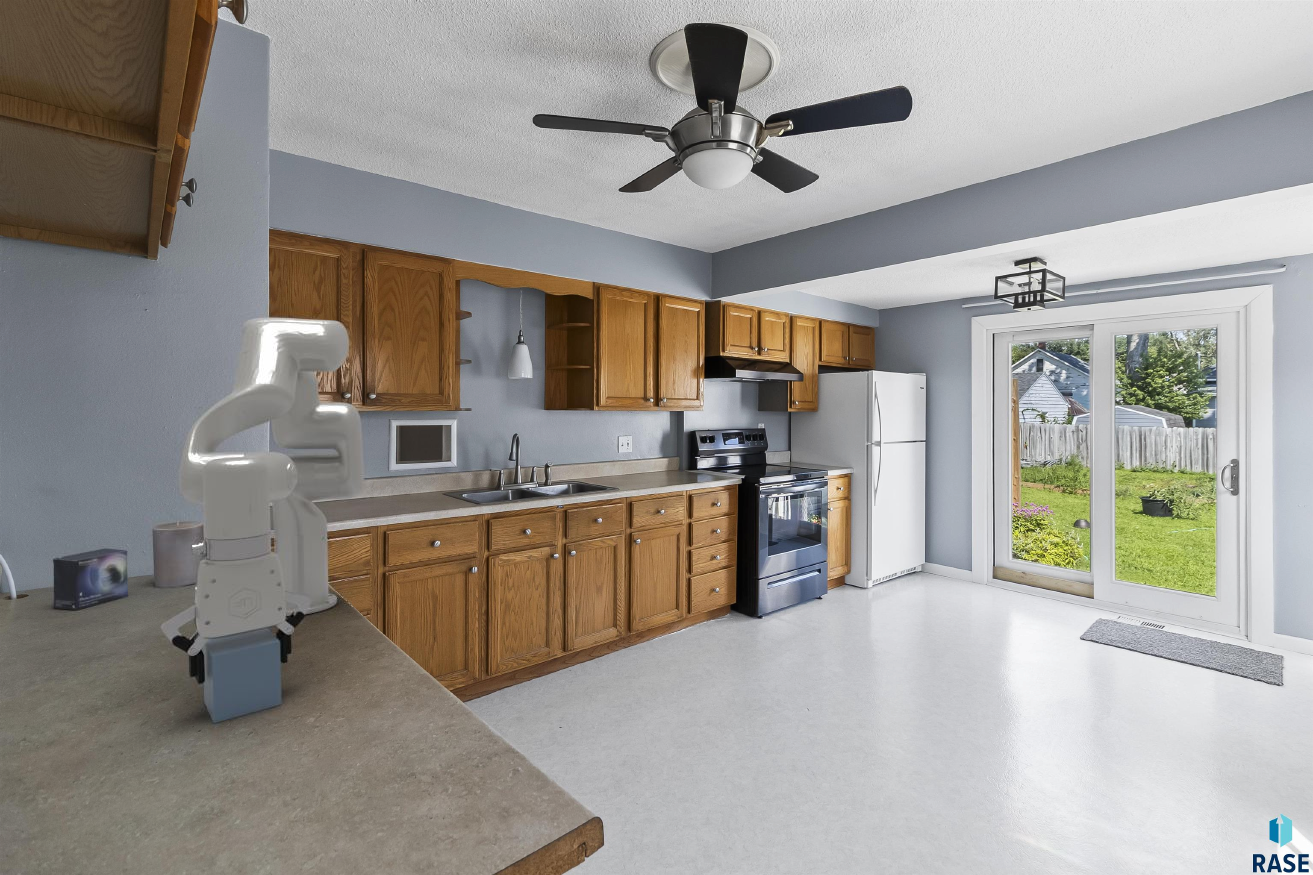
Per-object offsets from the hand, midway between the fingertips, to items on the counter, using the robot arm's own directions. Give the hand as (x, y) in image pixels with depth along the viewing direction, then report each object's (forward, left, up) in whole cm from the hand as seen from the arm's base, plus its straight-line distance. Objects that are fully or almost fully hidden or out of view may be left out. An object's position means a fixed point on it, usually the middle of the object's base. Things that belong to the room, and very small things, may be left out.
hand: (242, 669), depth 87 cm
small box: (-66, -41, -5) cm, 78 cm away
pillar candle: (-78, -29, -5) cm, 83 cm away
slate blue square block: (0, 0, -5) cm, 5 cm away
